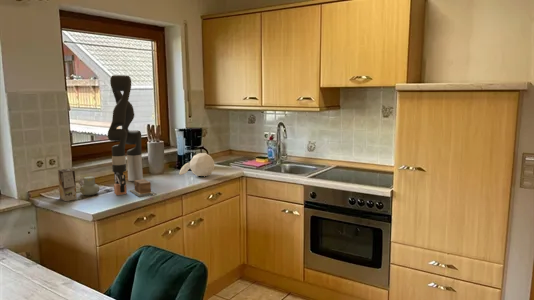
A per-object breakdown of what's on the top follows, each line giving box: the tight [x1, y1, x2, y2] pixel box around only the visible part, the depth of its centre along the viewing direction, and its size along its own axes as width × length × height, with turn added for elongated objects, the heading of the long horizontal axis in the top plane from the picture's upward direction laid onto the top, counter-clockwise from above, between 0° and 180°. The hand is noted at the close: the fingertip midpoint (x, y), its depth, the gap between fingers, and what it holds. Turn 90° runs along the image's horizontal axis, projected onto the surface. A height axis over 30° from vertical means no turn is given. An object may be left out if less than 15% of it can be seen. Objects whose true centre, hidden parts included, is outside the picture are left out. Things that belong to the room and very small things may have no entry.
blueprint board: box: [129, 188, 157, 198], centre depth 236 cm, size 17×10×1 cm, turn 35°
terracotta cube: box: [113, 183, 128, 196], centre depth 235 cm, size 6×6×6 cm
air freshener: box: [79, 176, 100, 196], centre depth 232 cm, size 11×8×10 cm
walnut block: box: [133, 178, 152, 194], centre depth 236 cm, size 10×6×6 cm, turn 37°
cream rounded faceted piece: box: [178, 152, 215, 178], centre depth 283 cm, size 16×22×28 cm
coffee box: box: [57, 168, 77, 202], centre depth 222 cm, size 9×6×16 cm
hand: (120, 190), depth 235 cm, fingers open, 8 cm apart
